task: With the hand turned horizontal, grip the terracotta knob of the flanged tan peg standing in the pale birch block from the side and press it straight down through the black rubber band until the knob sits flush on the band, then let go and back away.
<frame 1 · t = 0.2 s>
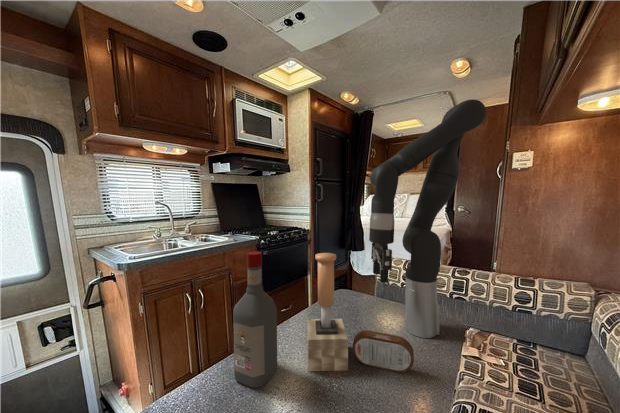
hand: (379, 277, 75), 18 cm above the table, tool pointing down, fingers open, 8 cm apart
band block: (326, 357, 64), on the table
flanged tan peg: (325, 293, 63), point 18 cm above the table, slide at 0.0 cm
liquor: (256, 373, 58), on the table
tin: (382, 367, 60), on the table
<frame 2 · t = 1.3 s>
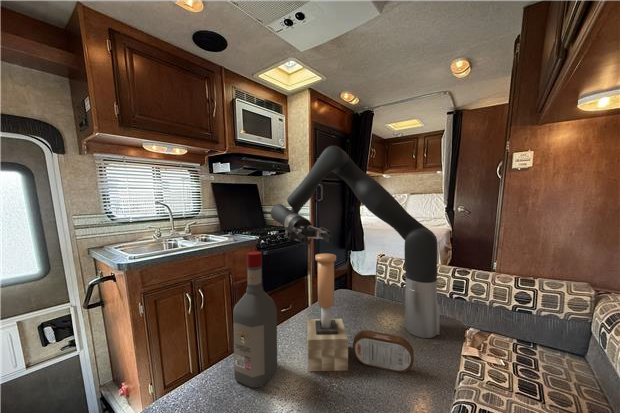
hand: (317, 240, 70), 31 cm above the table, tool horizontal, fingers open, 8 cm apart
nothing on the table moved.
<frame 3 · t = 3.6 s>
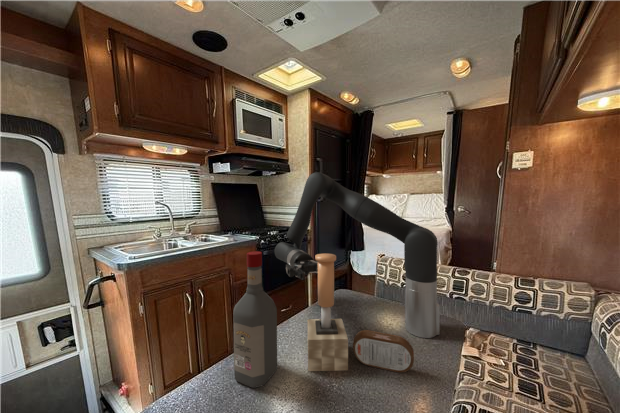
hand: (317, 274, 69), 21 cm above the table, tool horizontal, fingers open, 8 cm apart
nothing on the table moved.
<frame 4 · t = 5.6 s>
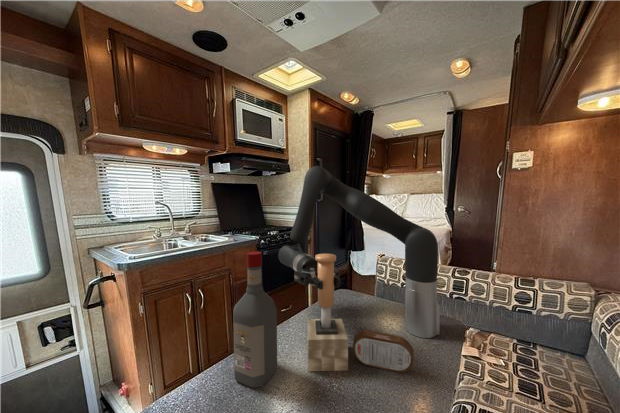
hand: (330, 284, 61), 21 cm above the table, tool horizontal, fingers closed on flanged tan peg, 4 cm apart
flanged tan peg: (325, 294, 63), point 17 cm above the table, slide at 0.2 cm, touching gripper
everything else where it was.
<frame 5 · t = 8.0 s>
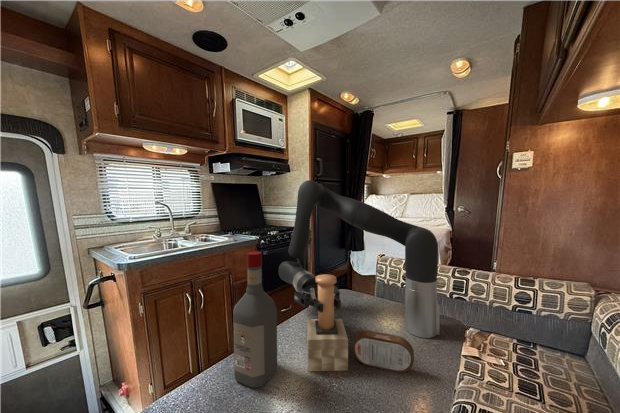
hand: (330, 306, 61), 15 cm above the table, tool horizontal, fingers closed on flanged tan peg, 4 cm apart
flanged tan peg: (326, 316, 63), point 11 cm above the table, slide at 6.1 cm, touching gripper
everything else where it was.
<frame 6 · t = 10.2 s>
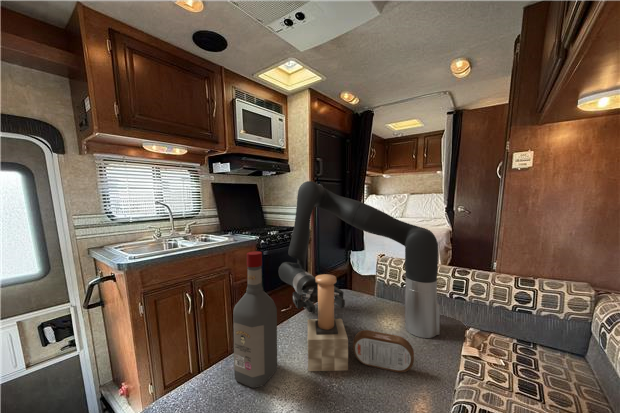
hand: (328, 307, 62), 15 cm above the table, tool horizontal, fingers open, 8 cm apart
flanged tan peg: (326, 316, 63), point 11 cm above the table, slide at 6.1 cm
everything else where it was.
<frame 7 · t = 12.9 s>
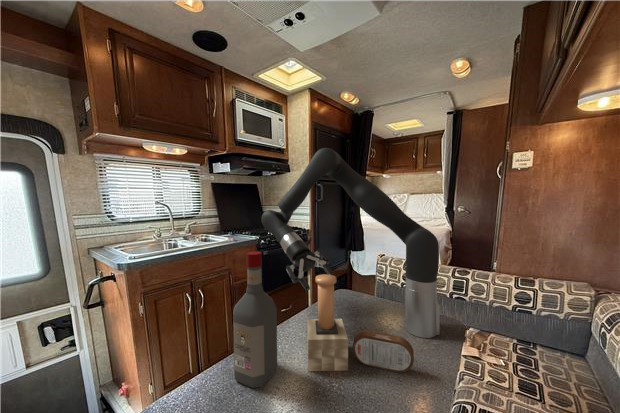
hand: (320, 281, 74), 17 cm above the table, tool tilted 55°, fingers open, 8 cm apart
nothing on the table moved.
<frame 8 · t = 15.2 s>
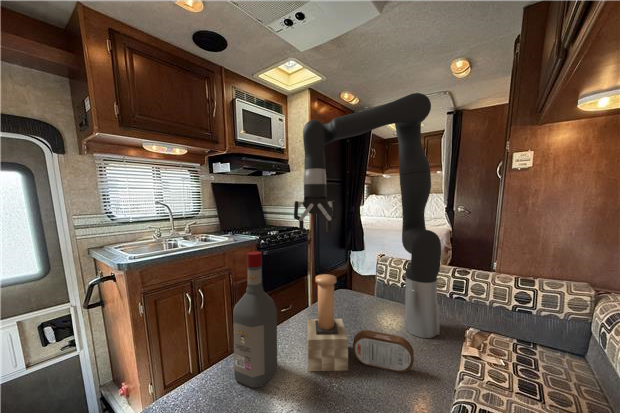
hand: (315, 231, 79), 32 cm above the table, tool pointing down, fingers open, 8 cm apart
nothing on the table moved.
at the end: flanged tan peg slide at 6.1 cm; the gripper is holding nothing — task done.
